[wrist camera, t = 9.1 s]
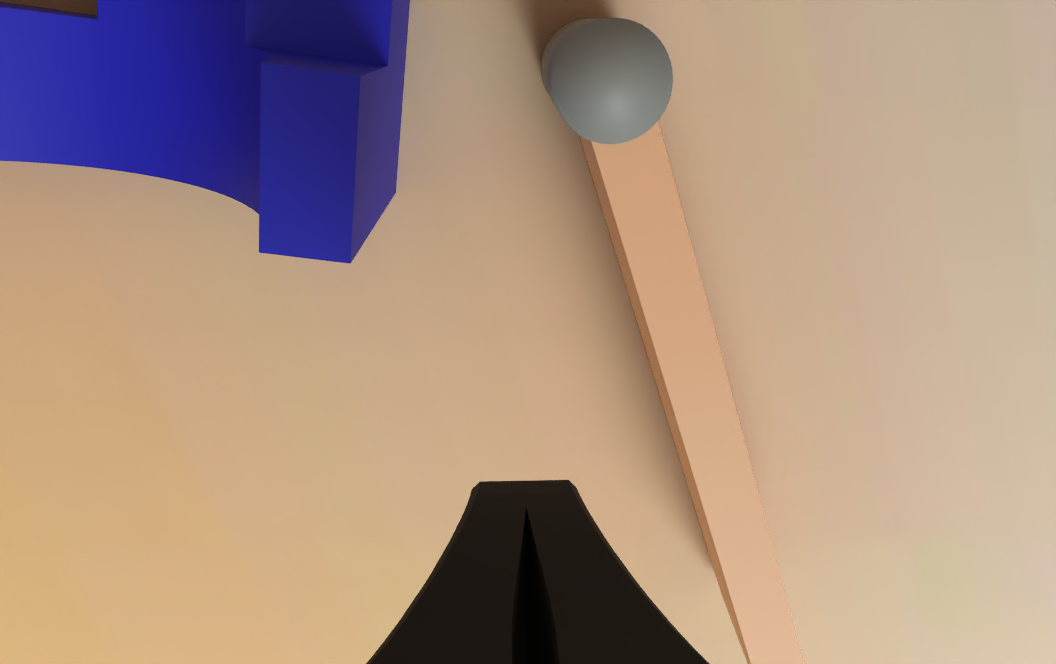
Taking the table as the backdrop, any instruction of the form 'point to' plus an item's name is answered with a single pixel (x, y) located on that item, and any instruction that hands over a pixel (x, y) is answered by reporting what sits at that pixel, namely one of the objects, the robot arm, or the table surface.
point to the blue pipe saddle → (220, 104)
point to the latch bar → (671, 307)
